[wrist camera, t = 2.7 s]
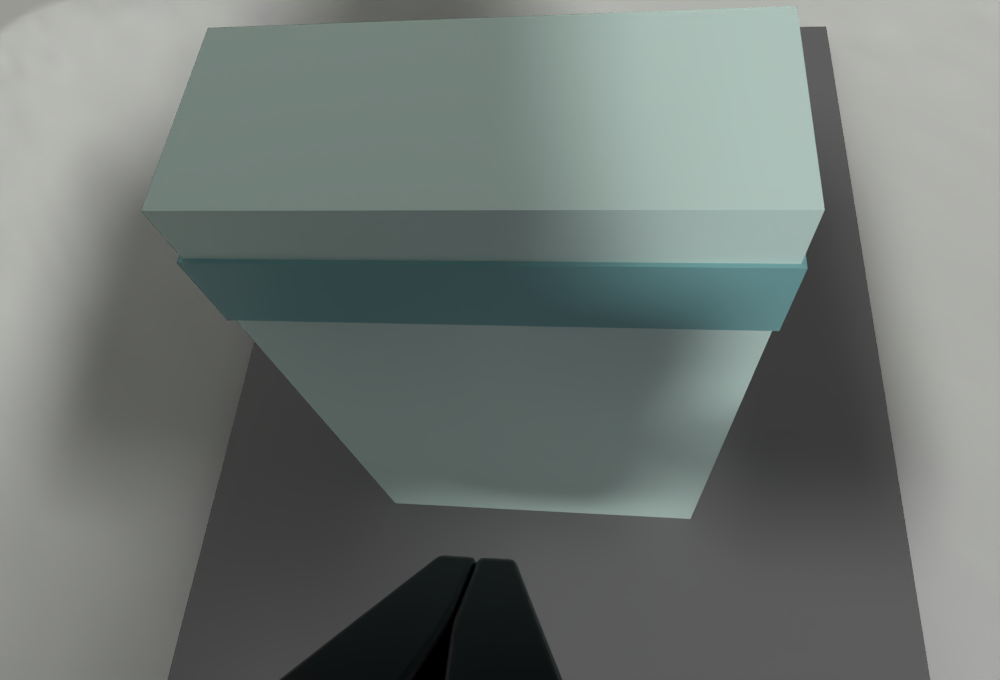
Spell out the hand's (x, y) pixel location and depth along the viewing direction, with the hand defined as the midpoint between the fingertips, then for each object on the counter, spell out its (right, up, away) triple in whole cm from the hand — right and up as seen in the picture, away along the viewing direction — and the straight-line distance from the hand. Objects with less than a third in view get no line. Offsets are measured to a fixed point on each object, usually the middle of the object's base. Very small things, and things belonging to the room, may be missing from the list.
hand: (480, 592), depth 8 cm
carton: (+1, 0, +8) cm, 8 cm away
